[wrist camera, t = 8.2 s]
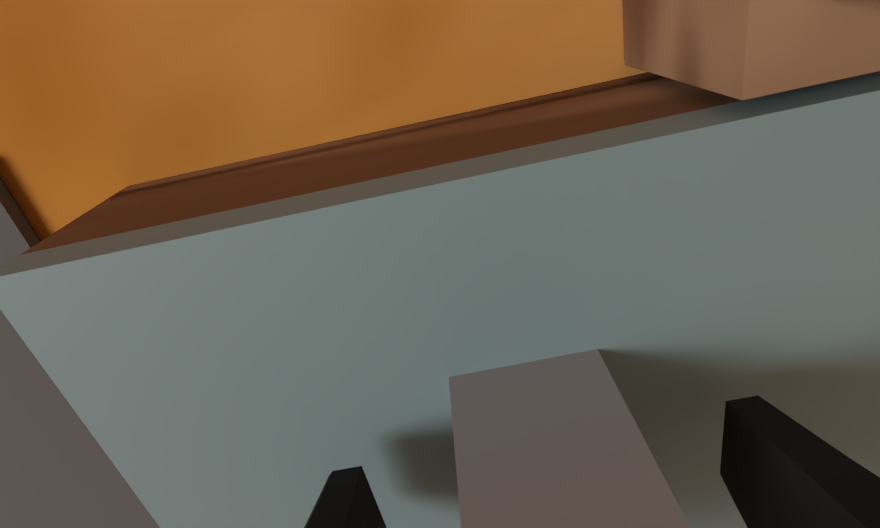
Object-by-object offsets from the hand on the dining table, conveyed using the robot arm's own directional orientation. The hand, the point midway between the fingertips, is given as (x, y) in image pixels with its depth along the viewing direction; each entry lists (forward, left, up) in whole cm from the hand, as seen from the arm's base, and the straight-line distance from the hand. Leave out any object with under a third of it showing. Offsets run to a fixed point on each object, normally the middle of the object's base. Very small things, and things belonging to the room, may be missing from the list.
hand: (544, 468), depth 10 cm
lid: (0, 0, -2) cm, 2 cm away
